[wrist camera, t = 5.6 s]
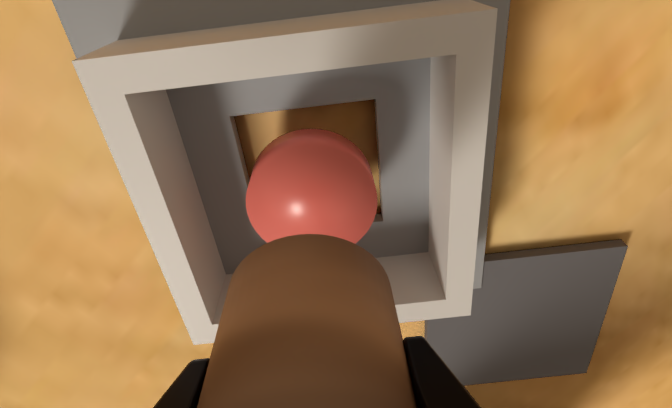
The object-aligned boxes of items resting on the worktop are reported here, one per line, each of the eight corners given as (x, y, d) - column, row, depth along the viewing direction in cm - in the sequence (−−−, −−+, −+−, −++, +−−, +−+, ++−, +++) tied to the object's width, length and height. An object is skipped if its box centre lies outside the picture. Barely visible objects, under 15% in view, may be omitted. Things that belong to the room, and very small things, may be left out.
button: (375, 228, 16) (380, 250, 15) (264, 240, 16) (260, 263, 15) (368, 121, 14) (373, 137, 13) (238, 136, 14) (231, 153, 13)
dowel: (394, 345, 11) (449, 629, 7) (247, 360, 11) (199, 651, 7) (388, 224, 9) (463, 512, 4) (209, 244, 9) (98, 546, 5)
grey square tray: (477, 279, 20) (505, 337, 17) (190, 310, 20) (168, 372, 17) (509, -66, 13) (568, -70, 10) (59, -9, 13) (-17, 4, 10)
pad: (581, 365, 24) (586, 373, 23) (424, 381, 24) (426, 389, 24) (621, 239, 19) (627, 246, 19) (425, 260, 19) (427, 267, 19)
